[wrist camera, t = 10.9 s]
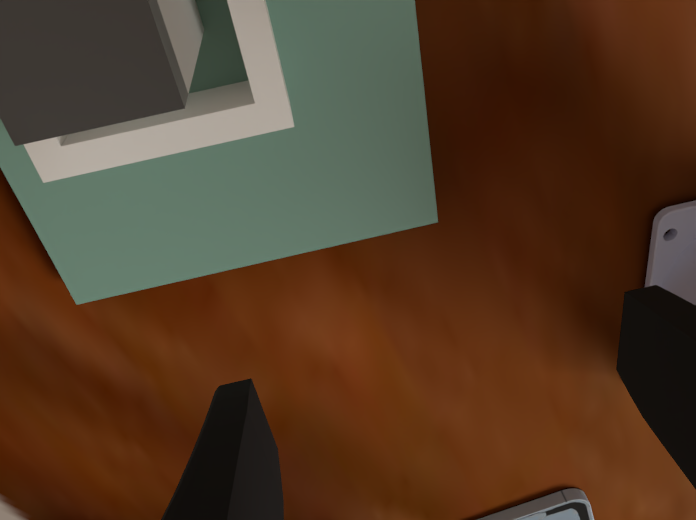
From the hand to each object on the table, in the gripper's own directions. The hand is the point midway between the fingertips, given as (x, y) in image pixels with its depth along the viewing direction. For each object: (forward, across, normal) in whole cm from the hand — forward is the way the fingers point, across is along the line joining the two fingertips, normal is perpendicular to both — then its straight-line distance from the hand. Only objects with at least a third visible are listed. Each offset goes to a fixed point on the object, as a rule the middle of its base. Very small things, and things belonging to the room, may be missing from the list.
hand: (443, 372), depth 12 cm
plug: (+8, +5, -7) cm, 12 cm away
